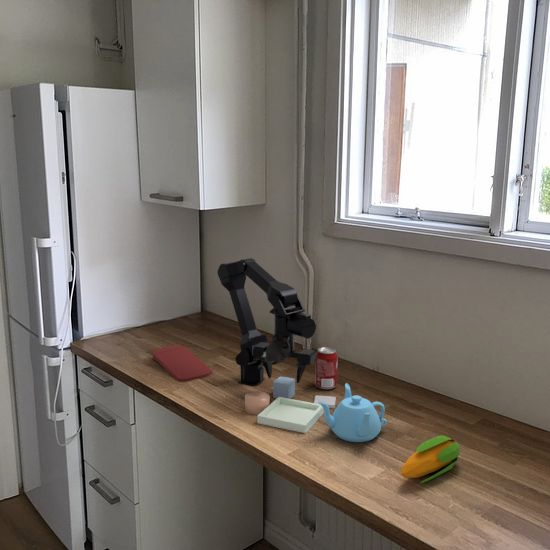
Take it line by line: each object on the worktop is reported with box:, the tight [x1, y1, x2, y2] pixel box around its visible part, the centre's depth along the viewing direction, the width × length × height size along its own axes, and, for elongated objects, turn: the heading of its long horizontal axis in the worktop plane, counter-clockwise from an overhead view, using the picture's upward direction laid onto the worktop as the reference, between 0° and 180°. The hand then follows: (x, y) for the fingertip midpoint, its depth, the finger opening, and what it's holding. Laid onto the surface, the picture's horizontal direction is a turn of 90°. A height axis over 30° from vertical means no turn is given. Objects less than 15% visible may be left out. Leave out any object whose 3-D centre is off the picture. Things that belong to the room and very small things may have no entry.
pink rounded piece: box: [244, 391, 271, 416], centre depth 177 cm, size 7×7×4 cm
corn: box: [400, 435, 461, 484], centre depth 143 cm, size 7×8×20 cm
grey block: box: [313, 395, 337, 409], centre depth 182 cm, size 6×6×2 cm
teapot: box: [317, 382, 387, 443], centre depth 162 cm, size 15×15×10 cm
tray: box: [257, 397, 324, 434], centre depth 172 cm, size 14×14×2 cm
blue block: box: [272, 376, 296, 399], centre depth 187 cm, size 5×5×5 cm
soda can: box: [314, 346, 339, 391], centre depth 193 cm, size 7×7×12 cm
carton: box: [151, 344, 213, 383], centre depth 210 cm, size 12×5×25 cm
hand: (283, 380), depth 186 cm, fingers open, 9 cm apart
